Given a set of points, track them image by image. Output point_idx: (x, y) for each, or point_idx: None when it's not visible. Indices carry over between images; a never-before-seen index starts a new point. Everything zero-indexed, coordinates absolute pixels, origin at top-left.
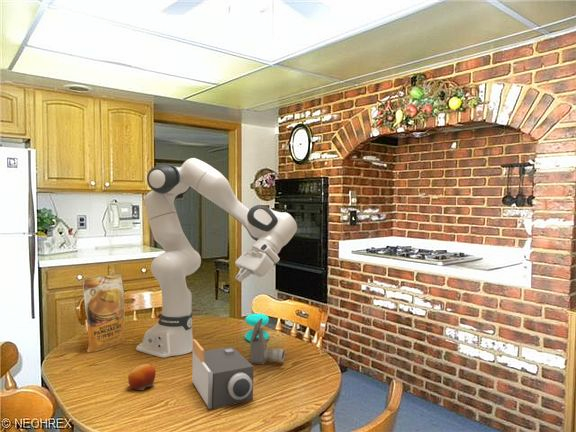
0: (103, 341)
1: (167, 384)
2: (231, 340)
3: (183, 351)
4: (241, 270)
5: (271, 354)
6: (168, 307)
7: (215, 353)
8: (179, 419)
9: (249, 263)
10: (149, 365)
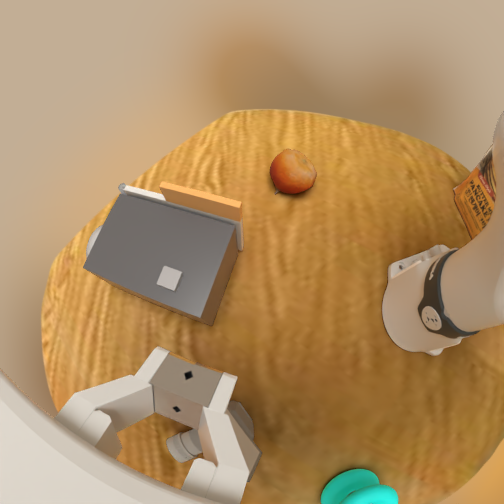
0: (465, 202)
1: (270, 213)
2: (385, 440)
3: (386, 306)
4: (216, 467)
5: (190, 431)
6: (466, 244)
7: (192, 252)
8: (159, 178)
9: (10, 461)
10: (288, 167)
